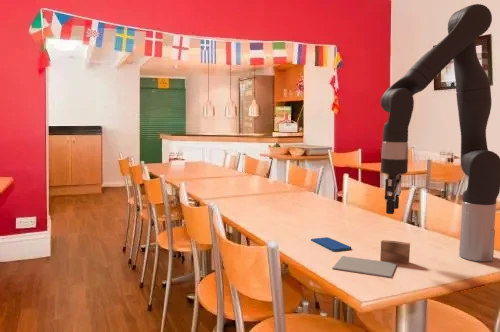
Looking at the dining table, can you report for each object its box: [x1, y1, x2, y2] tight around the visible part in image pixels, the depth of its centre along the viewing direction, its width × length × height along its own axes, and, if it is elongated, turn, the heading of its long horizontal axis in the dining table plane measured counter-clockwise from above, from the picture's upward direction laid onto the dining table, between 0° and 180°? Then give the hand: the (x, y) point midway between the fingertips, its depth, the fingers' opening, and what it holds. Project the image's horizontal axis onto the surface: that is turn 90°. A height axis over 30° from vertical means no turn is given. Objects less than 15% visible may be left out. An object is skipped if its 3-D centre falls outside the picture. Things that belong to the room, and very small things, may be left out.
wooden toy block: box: [379, 239, 411, 265], centre depth 134 cm, size 8×2×6 cm, turn 65°
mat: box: [332, 255, 398, 278], centre depth 129 cm, size 16×12×1 cm
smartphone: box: [310, 237, 352, 252], centre depth 151 cm, size 7×1×15 cm
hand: (392, 211), depth 134 cm, fingers open, 8 cm apart
